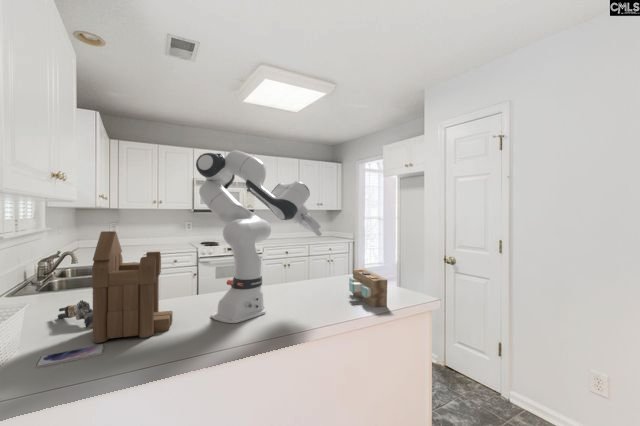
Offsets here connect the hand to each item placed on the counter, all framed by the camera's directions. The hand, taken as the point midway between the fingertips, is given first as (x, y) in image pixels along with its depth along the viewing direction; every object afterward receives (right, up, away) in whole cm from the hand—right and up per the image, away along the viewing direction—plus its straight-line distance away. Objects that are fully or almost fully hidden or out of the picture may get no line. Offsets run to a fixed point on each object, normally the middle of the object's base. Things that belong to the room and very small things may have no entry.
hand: (319, 235), depth 141 cm
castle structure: (-66, -31, -29) cm, 79 cm away
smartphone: (-72, -32, -52) cm, 95 cm away
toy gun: (-90, -31, -29) cm, 99 cm away
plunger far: (+20, -28, +15) cm, 37 cm away
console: (+24, -32, +8) cm, 40 cm away
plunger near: (+24, -28, -1) cm, 37 cm away
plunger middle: (+19, -28, +6) cm, 34 cm away
